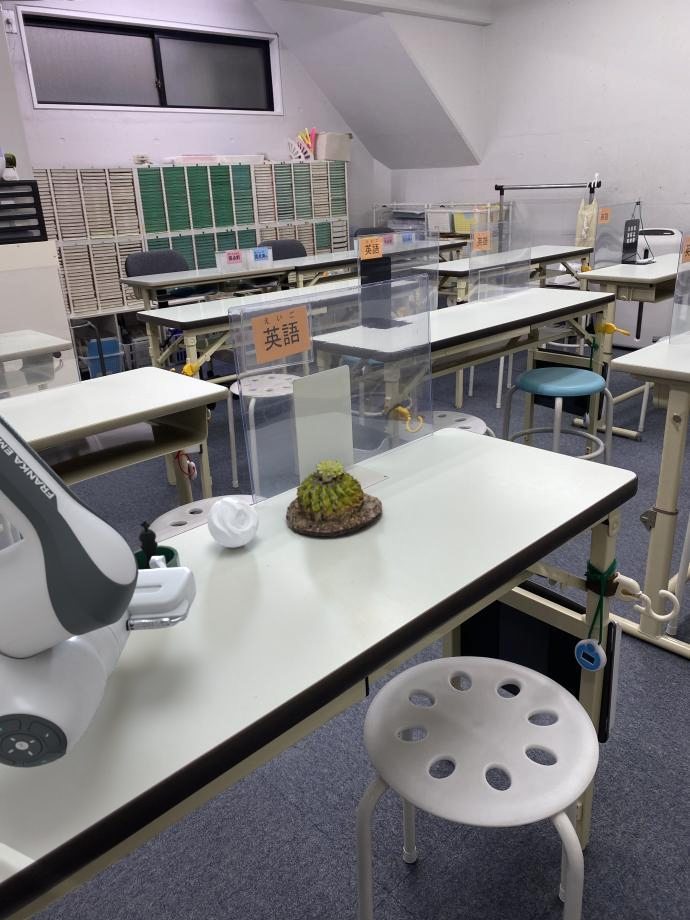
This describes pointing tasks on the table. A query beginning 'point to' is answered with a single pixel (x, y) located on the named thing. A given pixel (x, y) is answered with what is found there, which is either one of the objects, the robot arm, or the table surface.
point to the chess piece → (148, 543)
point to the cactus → (331, 503)
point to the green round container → (161, 550)
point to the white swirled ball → (232, 522)
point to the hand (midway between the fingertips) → (121, 563)
